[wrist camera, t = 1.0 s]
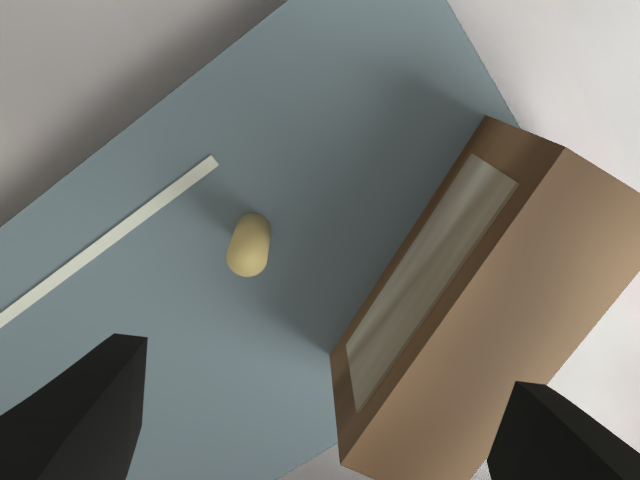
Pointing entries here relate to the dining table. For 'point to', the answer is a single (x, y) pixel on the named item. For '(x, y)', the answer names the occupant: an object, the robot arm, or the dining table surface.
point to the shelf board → (246, 229)
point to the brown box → (480, 304)
